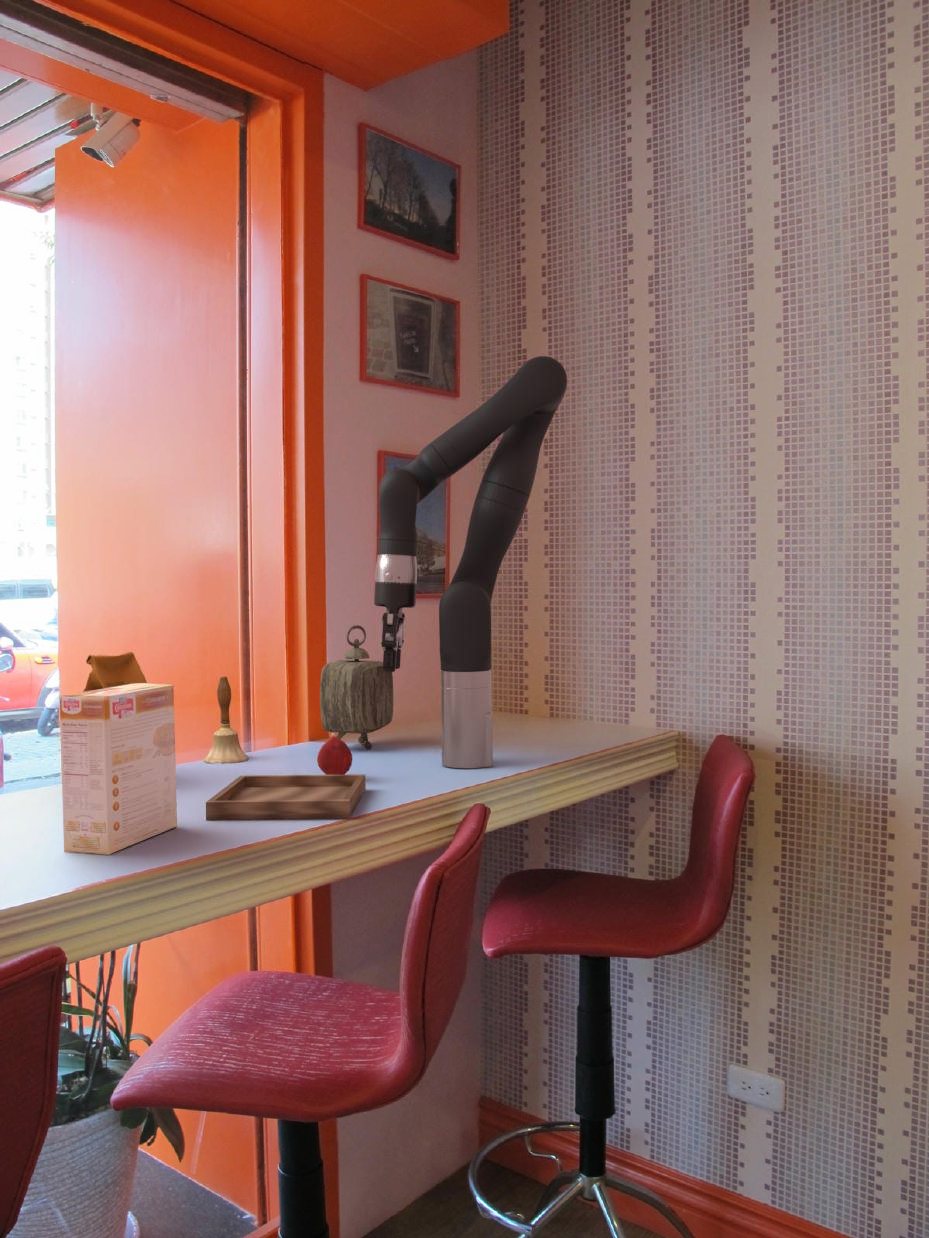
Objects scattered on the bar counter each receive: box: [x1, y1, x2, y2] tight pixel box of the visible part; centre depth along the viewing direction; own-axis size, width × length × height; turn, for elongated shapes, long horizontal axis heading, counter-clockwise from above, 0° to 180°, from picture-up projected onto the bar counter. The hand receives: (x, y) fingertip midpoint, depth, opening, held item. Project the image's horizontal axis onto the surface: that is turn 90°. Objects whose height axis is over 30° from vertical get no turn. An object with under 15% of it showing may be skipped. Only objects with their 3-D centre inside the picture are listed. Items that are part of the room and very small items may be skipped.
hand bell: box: [203, 676, 249, 764], centre depth 186 cm, size 8×8×16 cm
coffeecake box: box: [58, 682, 178, 856], centre depth 126 cm, size 15×7×20 cm, turn 163°
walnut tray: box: [205, 773, 366, 821], centre depth 146 cm, size 20×20×2 cm
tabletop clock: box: [319, 624, 394, 750], centre depth 198 cm, size 14×9×25 cm, turn 154°
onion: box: [316, 732, 353, 775], centre depth 164 cm, size 6×6×8 cm
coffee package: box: [82, 650, 148, 692], centre depth 164 cm, size 10×12×22 cm
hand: (391, 670), depth 178 cm, fingers open, 8 cm apart
